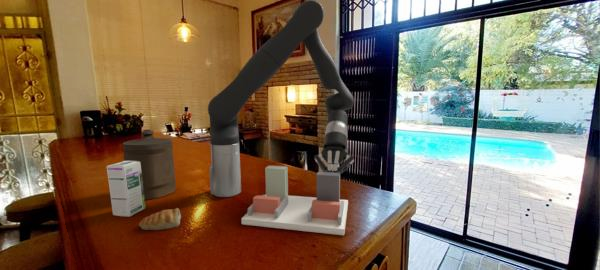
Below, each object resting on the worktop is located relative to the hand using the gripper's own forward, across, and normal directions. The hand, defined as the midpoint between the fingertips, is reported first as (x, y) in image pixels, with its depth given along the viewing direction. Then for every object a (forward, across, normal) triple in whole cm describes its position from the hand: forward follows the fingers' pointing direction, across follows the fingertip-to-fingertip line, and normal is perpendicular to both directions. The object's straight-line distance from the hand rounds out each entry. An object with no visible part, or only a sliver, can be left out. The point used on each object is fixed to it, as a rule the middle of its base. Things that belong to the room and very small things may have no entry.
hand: (331, 183), depth 77 cm
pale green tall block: (+6, -16, +1) cm, 17 cm away
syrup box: (+17, -56, -8) cm, 59 cm away
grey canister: (+6, -62, +3) cm, 62 cm away
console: (+10, -8, -1) cm, 13 cm away
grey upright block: (+8, 0, -1) cm, 8 cm away
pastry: (+20, -41, -11) cm, 47 cm away
